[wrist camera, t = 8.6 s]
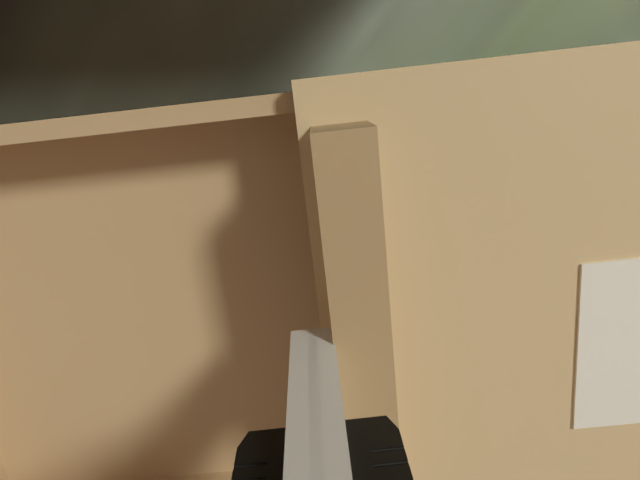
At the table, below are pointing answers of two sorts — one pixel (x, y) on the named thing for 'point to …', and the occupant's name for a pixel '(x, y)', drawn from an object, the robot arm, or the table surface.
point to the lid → (484, 257)
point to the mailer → (149, 288)
